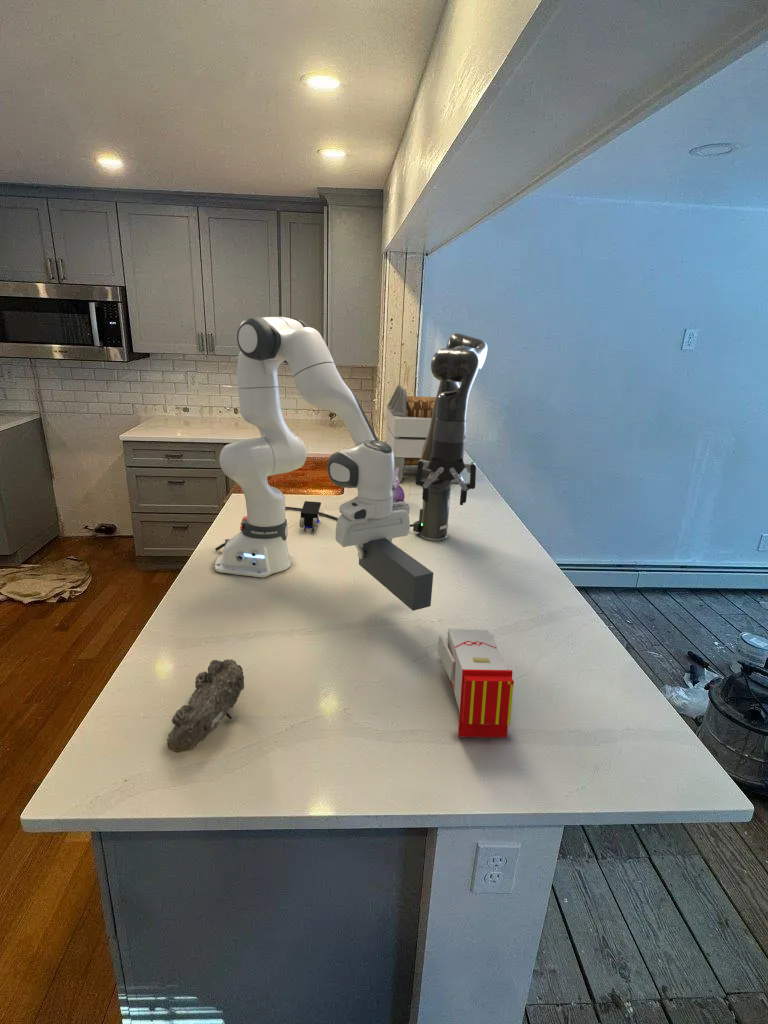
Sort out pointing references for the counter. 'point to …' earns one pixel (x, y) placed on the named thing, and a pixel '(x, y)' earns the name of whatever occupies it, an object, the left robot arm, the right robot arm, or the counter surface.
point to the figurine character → (310, 515)
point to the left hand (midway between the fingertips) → (372, 555)
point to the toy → (478, 682)
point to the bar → (398, 573)
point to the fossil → (206, 705)
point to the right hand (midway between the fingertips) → (443, 503)
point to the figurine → (397, 489)
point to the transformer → (408, 427)
